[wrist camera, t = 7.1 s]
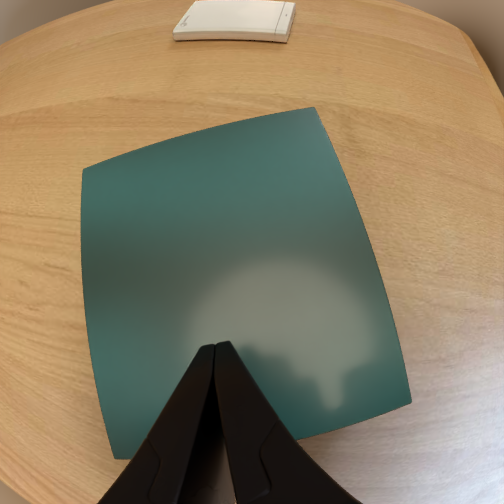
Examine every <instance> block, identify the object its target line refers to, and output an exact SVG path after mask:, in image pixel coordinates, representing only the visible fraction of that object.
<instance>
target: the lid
mask: <svg viewBox="0 0 504 504" xmlns="http://www.w3.org/2000/svg"><path fill="white" fill-rule="evenodd" d="M81 265H82V283H83V296H84V307H85V317H86V326H87V334H88V341H89V348H90V355H91V361H92V367H93V372H94V378H95V383H96V388H97V393H98V398H99V402H100V407H101V411H102V415H103V419H104V423H105V427H106V431H107V435H108V438H109V442H110V445H111V449H112V452H113V456H114V458H115V459H132V458H133V456H134V455H135V453H136V452H137V450H138V449H139V447H140V445H141V444H142V442H143V440H144V439H145V438H147V437H146V436H147V434H148V432H149V431H150V429H151V427H152V426H153V424H154V423H155V421H156V419H157V418H158V416H159V414H160V413H161V411H162V409H163V408H164V406H165V404H166V403H167V401H168V400H169V398H170V396H171V395H172V393H173V391H174V390H175V388H176V386H177V385H178V383H179V381H180V380H181V378H182V376H183V375H184V373H185V371H186V370H187V368H188V366H189V365H190V363H191V362H192V360H193V358H194V357H195V355H196V353H197V352H198V350H199V348H200V347H201V346H203V345H208V344H215V345H216V344H217V343H218V342H223V341H228V340H229V341H231V343H232V344H233V346H234V348H235V349H236V351H237V353H238V354H239V356H240V357H241V359H242V361H243V362H244V364H245V366H246V367H247V369H248V370H249V372H250V373H251V375H252V377H253V378H254V380H255V381H256V383H257V384H258V386H259V388H260V389H261V391H262V392H263V394H264V395H265V397H266V398H267V400H268V401H269V403H270V404H271V406H272V407H273V409H274V410H275V412H276V413H277V415H278V416H279V418H280V420H281V421H282V422H283V423H284V425H285V426H286V428H287V429H288V431H289V432H290V433H291V435H292V436H293V437H294V439H295V440H299V439H303V438H307V437H311V436H315V435H319V434H323V433H326V432H330V431H333V430H337V429H340V428H343V427H347V426H350V425H353V424H356V423H359V422H362V421H365V420H368V419H371V418H374V417H376V416H379V415H382V414H385V413H387V412H390V411H392V410H395V409H398V408H400V407H403V406H405V405H407V404H410V403H411V402H412V399H411V394H410V388H409V383H408V378H407V374H406V369H405V364H404V360H403V355H402V351H401V347H400V343H399V339H398V335H397V331H396V327H395V323H394V319H393V315H392V312H391V308H390V304H389V301H388V297H387V294H386V291H385V287H384V284H383V281H382V277H381V274H380V271H379V268H378V264H377V261H376V258H375V255H374V252H373V249H372V246H371V243H370V240H369V237H368V235H367V232H366V229H365V226H364V223H363V221H362V218H361V215H360V212H359V210H358V207H357V204H356V202H355V199H354V197H353V194H352V191H351V189H350V186H349V184H348V181H347V179H346V176H345V174H344V172H343V169H342V167H341V164H340V162H339V160H338V157H337V155H336V153H335V150H334V148H333V146H332V144H331V141H330V139H329V137H328V135H327V132H326V130H325V128H324V126H323V124H322V122H321V120H320V117H319V115H318V113H317V111H316V109H315V107H310V108H304V109H298V110H292V111H286V112H280V113H275V114H270V115H265V116H260V117H255V118H250V119H245V120H241V121H237V122H232V123H228V124H224V125H220V126H216V127H212V128H208V129H204V130H200V131H196V132H193V133H189V134H185V135H182V136H178V137H175V138H171V139H168V140H165V141H161V142H158V143H155V144H152V145H149V146H146V147H143V148H139V149H136V150H133V151H131V152H128V153H125V154H122V155H119V156H116V157H113V158H111V159H108V160H105V161H103V162H100V163H97V164H95V165H92V166H90V167H87V168H85V169H83V173H82V191H81Z"/></svg>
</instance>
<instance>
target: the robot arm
mask: <svg viewBox="0 0 504 504" xmlns="http://www.w3.org/2000/svg"><path fill="white" fill-rule="evenodd" d="M146 437H147V438H145V439H144V440H143V442H142V444H141V445H140V447H139V449H138V450H137V452H136V453H135V455H134V456H133V458H132V459H131V461H130V462H129V464H128V465H127V466H126V468H125V469H124V470H123V472H122V473H121V474H120V476H119V477H118V478H117V480H116V481H115V482H114V483H113V485H112V486H111V487H110V488H109V490H108V491H107V492H106V493H105V495H104V496H103V497H102V498H101V499H100V501H99V502H98V503H97V504H235V497H236V502H237V504H363V503H361V502H360V501H358V500H357V499H356V498H354V497H353V496H352V495H350V494H349V493H348V492H347V491H346V490H344V489H343V488H342V487H341V486H340V485H339V484H338V483H337V482H336V481H335V480H334V479H333V478H331V477H330V476H329V475H328V474H327V473H326V472H325V471H324V470H323V469H322V468H321V467H320V466H319V465H318V464H317V463H316V462H315V461H314V460H313V459H312V458H311V457H310V456H309V455H308V454H307V453H306V452H305V451H304V450H303V448H302V447H301V446H300V445H299V444H298V443H297V441H296V440H295V439H294V437H293V436H292V435H291V433H290V432H289V431H288V429H287V428H286V426H285V425H284V423H283V422H282V421H281V420H280V418H279V416H278V415H277V413H276V412H275V410H274V409H273V407H272V406H271V404H270V403H269V401H268V400H267V398H266V397H265V395H264V394H263V392H262V391H261V389H260V388H259V386H258V384H257V383H256V381H255V380H254V378H253V377H252V375H251V373H250V372H249V370H248V369H247V367H246V366H245V364H244V362H243V361H242V359H241V357H240V356H239V354H238V353H237V351H236V349H235V348H234V346H233V344H232V343H231V341H229V340H228V341H223V342H218V343H217V344H216V345H215V344H208V345H203V346H201V347H200V348H199V350H198V352H197V353H196V355H195V357H194V358H193V360H192V362H191V363H190V365H189V366H188V368H187V370H186V371H185V373H184V375H183V376H182V378H181V380H180V381H179V383H178V385H177V386H176V388H175V390H174V391H173V393H172V395H171V396H170V398H169V400H168V401H167V403H166V404H165V406H164V408H163V409H162V411H161V413H160V414H159V416H158V418H157V419H156V421H155V423H154V424H153V426H152V427H151V429H150V431H149V432H148V434H147V436H146ZM234 493H235V495H234Z"/></svg>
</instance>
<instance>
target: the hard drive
mask: <svg viewBox="0 0 504 504" xmlns="http://www.w3.org/2000/svg"><path fill="white" fill-rule="evenodd" d="M295 10H296V4H295V3H291V2H280V1H264V0H207V1H195V2H194V4H193V5H192V6H191V7H190V8H189V10H188V11H187V12H186V14H185V15H184V16H183V18H182V19H181V20H180V22H179V23H178V24H177V26H176V27H175V29H174V30H173V38H174V40H198V39H243V40H264V41H277V42H287V40H288V36H289V32H290V29H291V25H292V22H293V18H294V15H295Z"/></svg>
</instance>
